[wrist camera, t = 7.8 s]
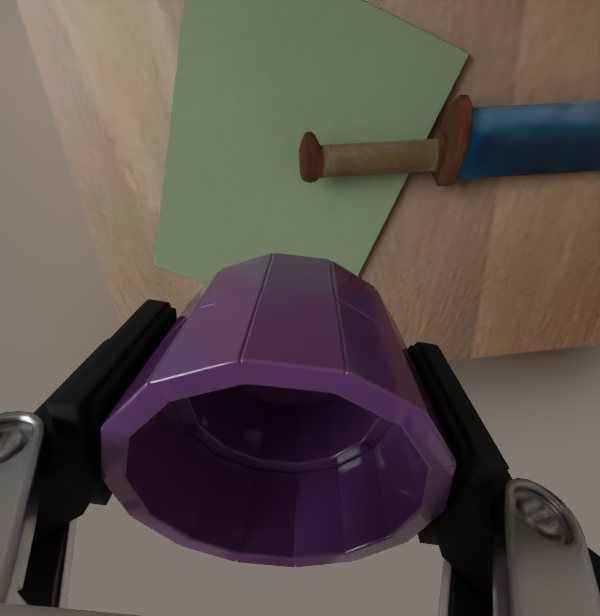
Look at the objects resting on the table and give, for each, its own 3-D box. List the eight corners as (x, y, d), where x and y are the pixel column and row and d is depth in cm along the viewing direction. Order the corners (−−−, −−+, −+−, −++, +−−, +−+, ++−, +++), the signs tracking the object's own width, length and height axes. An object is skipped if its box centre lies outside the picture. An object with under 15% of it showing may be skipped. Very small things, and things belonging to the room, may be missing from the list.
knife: (753, 81, 16) (681, 180, 19) (692, 79, 18) (637, 167, 22) (298, 107, 16) (301, 202, 19) (295, 101, 18) (299, 187, 21)
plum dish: (177, 384, 12) (97, 537, 7) (212, 209, 8) (100, 298, 4) (341, 428, 12) (357, 585, 8) (433, 288, 9) (543, 430, 5)
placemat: (155, 264, 25) (153, 266, 25) (196, -80, 15) (193, -85, 15) (333, 321, 27) (333, 324, 27) (466, 54, 18) (469, 53, 17)
